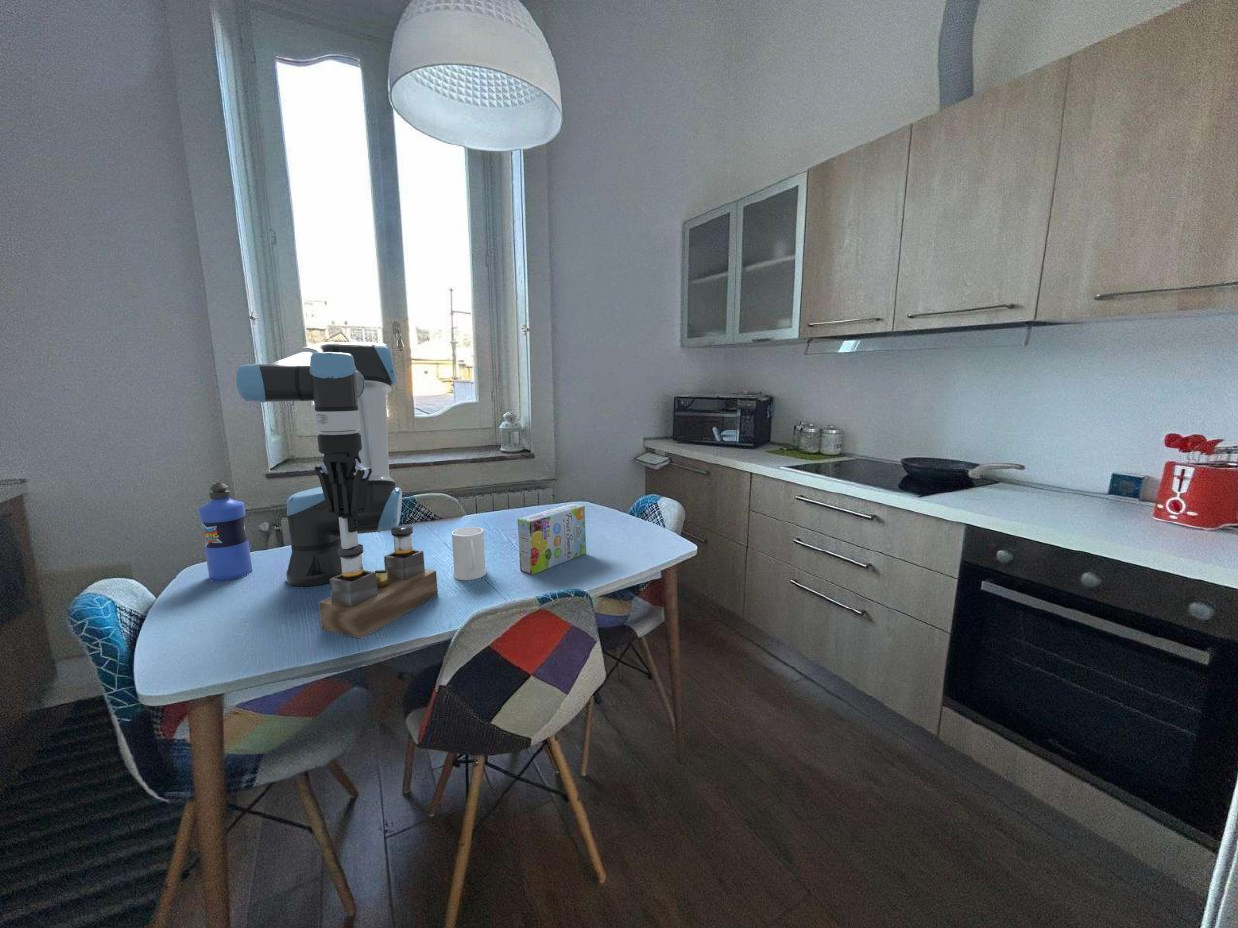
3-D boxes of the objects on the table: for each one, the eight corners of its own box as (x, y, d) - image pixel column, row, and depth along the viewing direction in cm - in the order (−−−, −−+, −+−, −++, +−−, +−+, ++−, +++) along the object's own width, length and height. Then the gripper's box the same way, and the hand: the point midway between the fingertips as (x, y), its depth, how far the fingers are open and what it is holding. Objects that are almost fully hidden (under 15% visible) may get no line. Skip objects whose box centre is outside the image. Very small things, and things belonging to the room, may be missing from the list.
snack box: (573, 550, 148) (572, 502, 146) (586, 554, 145) (586, 505, 142) (518, 570, 132) (516, 517, 130) (532, 575, 128) (530, 521, 126)
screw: (371, 588, 106) (370, 573, 106) (378, 582, 109) (377, 568, 109) (385, 588, 106) (384, 573, 106) (391, 582, 109) (390, 568, 109)
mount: (321, 629, 100) (316, 579, 99) (402, 587, 121) (398, 545, 119) (361, 638, 97) (356, 586, 95) (437, 594, 117) (434, 550, 115)
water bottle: (224, 583, 123) (210, 488, 119) (199, 578, 126) (185, 485, 122) (261, 570, 132) (249, 481, 128) (237, 566, 135) (225, 478, 131)
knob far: (389, 561, 112) (386, 529, 111) (404, 554, 117) (401, 524, 115) (404, 563, 111) (402, 532, 110) (419, 557, 115) (417, 526, 114)
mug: (489, 582, 124) (487, 537, 122) (454, 587, 121) (451, 541, 119) (485, 566, 135) (483, 525, 133) (452, 570, 132) (450, 528, 130)
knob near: (335, 585, 99) (332, 549, 98) (354, 576, 104) (351, 542, 102) (352, 588, 98) (349, 552, 97) (371, 579, 102) (368, 545, 101)
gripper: (297, 433, 94) (310, 548, 98) (347, 435, 90) (358, 556, 94) (332, 429, 101) (342, 538, 105) (379, 431, 97) (389, 544, 101)
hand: (350, 546), depth 99 cm, fingers closed
